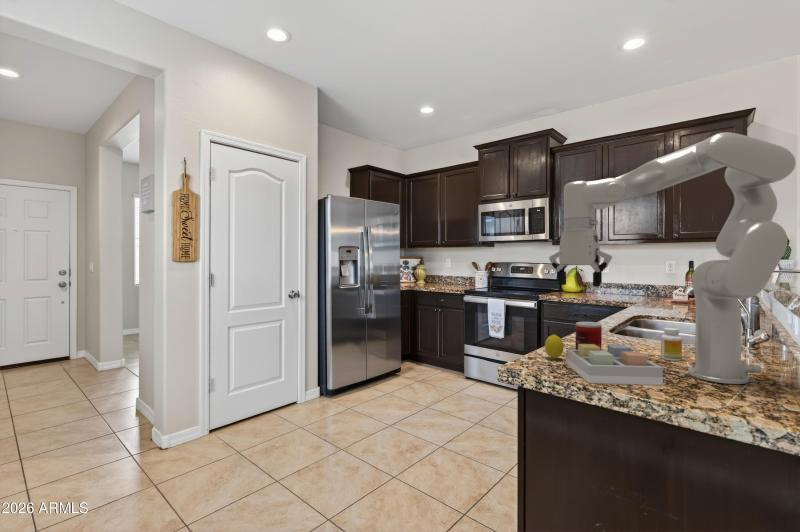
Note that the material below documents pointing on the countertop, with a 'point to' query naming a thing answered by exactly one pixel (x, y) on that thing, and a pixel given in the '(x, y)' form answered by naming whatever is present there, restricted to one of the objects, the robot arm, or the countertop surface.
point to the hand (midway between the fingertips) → (579, 285)
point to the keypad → (615, 371)
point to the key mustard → (586, 349)
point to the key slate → (618, 349)
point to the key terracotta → (633, 358)
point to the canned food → (588, 333)
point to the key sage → (600, 358)
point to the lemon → (554, 346)
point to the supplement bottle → (671, 345)
